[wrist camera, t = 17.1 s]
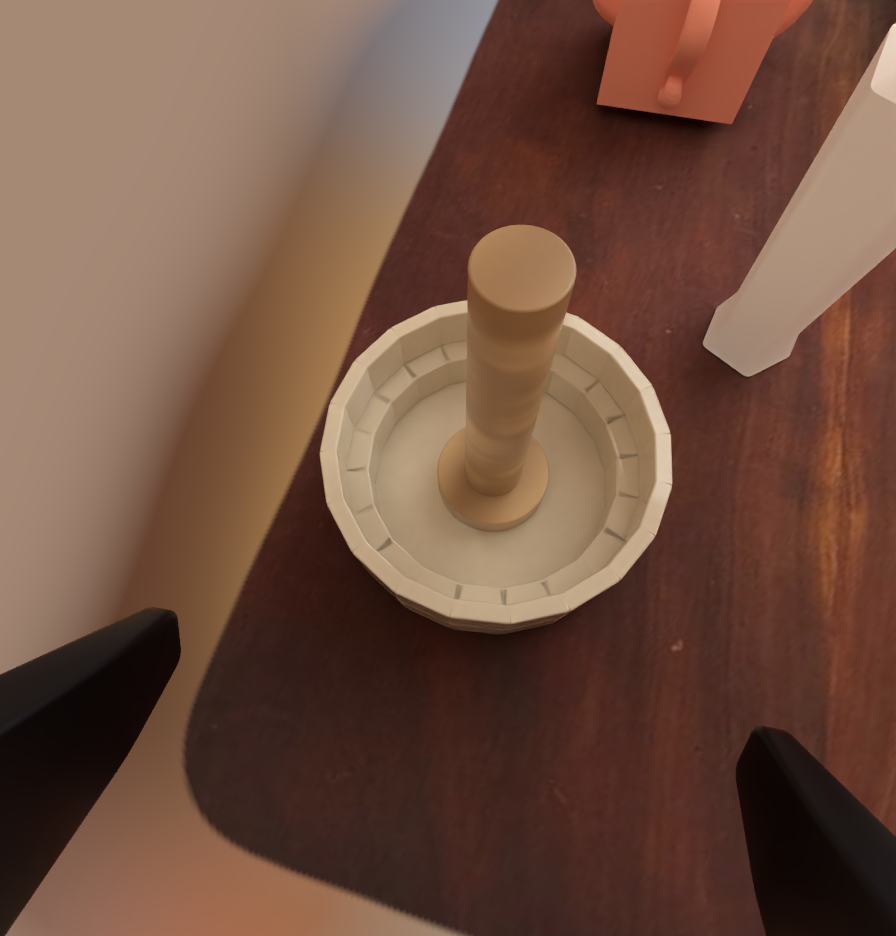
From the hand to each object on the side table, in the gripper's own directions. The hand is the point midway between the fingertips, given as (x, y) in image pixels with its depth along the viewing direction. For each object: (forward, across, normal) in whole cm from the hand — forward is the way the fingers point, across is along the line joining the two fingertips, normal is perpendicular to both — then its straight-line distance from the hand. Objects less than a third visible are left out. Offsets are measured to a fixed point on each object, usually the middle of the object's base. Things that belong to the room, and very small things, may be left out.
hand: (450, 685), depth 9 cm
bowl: (+15, 0, +4) cm, 16 cm away
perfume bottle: (+22, -11, -2) cm, 24 cm away
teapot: (+34, -6, -14) cm, 37 cm away
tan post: (+15, 0, +4) cm, 15 cm away
